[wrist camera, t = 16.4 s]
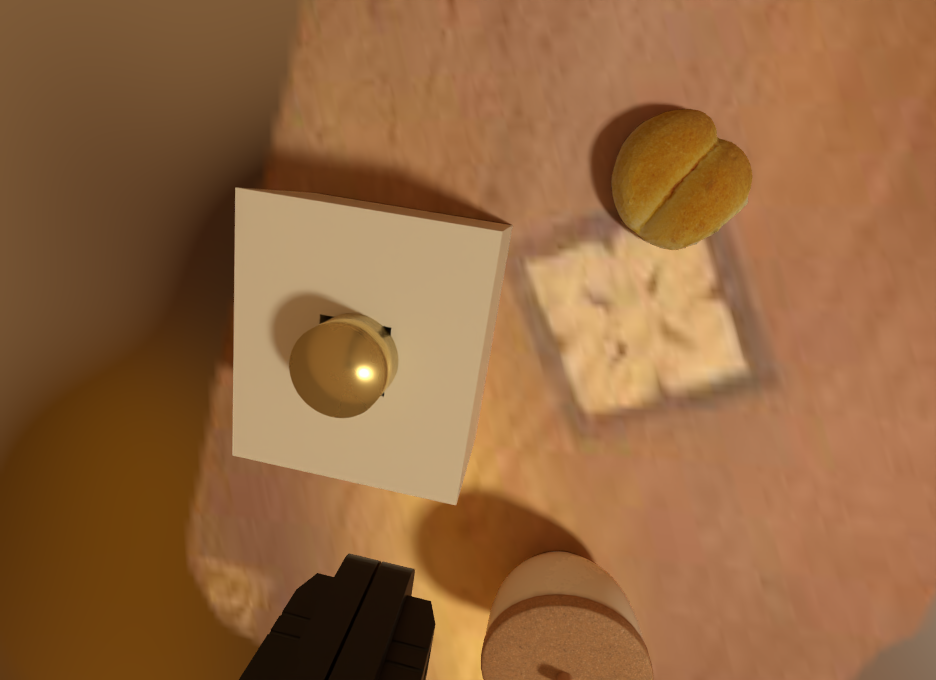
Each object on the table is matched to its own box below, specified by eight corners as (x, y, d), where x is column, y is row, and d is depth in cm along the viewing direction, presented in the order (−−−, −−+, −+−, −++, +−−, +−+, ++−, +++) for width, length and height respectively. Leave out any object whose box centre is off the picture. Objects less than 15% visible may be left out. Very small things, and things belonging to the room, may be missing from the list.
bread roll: (672, 89, 32) (689, 73, 29) (761, 182, 33) (790, 178, 29) (582, 183, 35) (587, 180, 31) (667, 268, 36) (682, 275, 32)
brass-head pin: (366, 283, 38) (291, 316, 27) (434, 295, 37) (388, 334, 26) (360, 349, 40) (287, 407, 28) (425, 362, 39) (378, 426, 28)
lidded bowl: (487, 523, 43) (470, 624, 33) (631, 526, 41) (662, 634, 31) (496, 634, 47) (483, 759, 36) (630, 642, 45) (658, 777, 34)
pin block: (312, 192, 38) (235, 187, 28) (512, 225, 36) (502, 231, 27) (301, 400, 43) (232, 455, 33) (475, 436, 41) (456, 505, 32)
